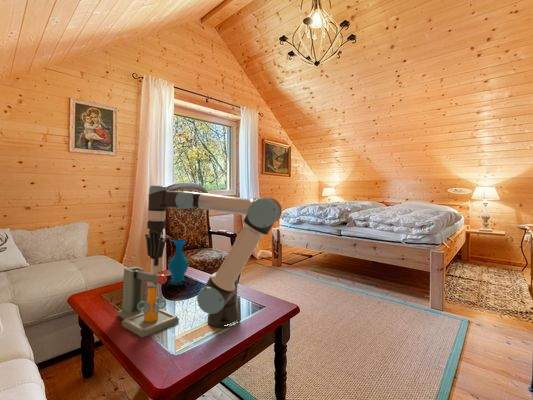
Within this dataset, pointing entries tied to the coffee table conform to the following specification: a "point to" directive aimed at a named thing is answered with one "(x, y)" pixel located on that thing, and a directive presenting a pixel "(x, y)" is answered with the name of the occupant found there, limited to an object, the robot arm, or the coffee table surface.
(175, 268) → the vase
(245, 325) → the coffee table surface
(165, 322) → the press frame
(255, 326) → the coffee table surface
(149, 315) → the cylinder
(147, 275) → the press lever
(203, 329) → the coffee table surface
